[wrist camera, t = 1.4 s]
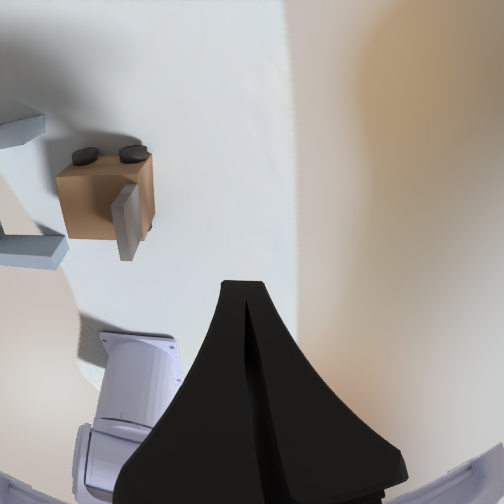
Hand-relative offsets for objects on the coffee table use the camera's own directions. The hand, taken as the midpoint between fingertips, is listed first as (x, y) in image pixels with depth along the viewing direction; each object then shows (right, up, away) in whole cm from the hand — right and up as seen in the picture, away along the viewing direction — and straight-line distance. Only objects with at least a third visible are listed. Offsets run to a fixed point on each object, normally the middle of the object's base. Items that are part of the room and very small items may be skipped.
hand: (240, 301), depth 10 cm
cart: (-8, +6, +7) cm, 12 cm away
